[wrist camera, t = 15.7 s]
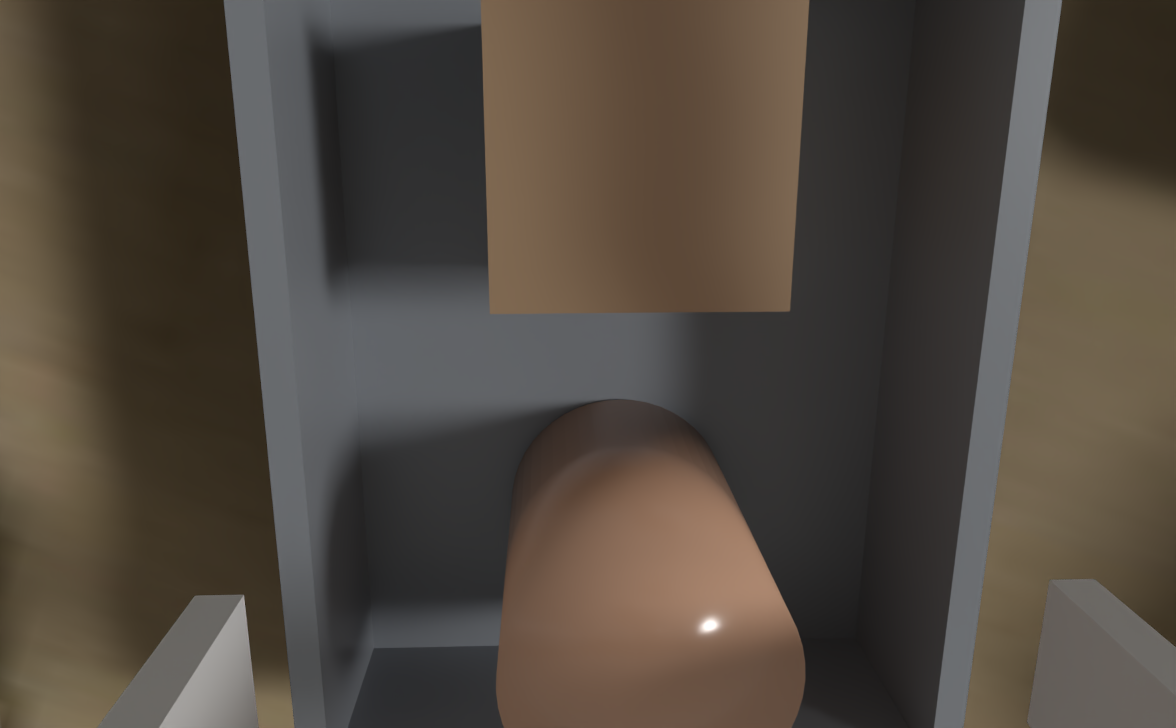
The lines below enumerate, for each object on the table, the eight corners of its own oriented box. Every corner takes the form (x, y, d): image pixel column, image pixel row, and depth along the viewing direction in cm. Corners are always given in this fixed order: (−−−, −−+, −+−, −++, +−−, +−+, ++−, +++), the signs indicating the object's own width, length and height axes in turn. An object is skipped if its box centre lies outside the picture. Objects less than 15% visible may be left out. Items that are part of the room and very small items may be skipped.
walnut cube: (504, 265, 19) (489, 314, 15) (497, 22, 18) (480, -14, 13) (730, 264, 20) (790, 311, 15) (740, 23, 18) (809, -11, 14)
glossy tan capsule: (508, 401, 20) (489, 549, 14) (727, 397, 20) (815, 540, 14) (515, 596, 22) (500, 817, 15) (719, 590, 22) (796, 806, 15)
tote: (299, -92, 18) (207, -169, 13) (943, -82, 18) (1082, -153, 14) (354, 658, 22) (302, 805, 18) (870, 647, 23) (955, 786, 18)
